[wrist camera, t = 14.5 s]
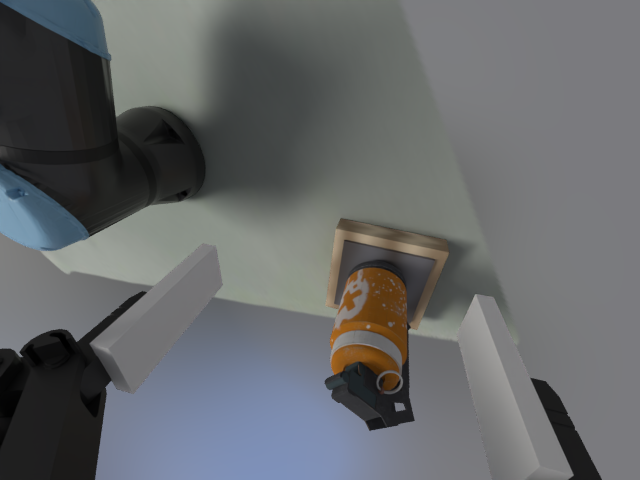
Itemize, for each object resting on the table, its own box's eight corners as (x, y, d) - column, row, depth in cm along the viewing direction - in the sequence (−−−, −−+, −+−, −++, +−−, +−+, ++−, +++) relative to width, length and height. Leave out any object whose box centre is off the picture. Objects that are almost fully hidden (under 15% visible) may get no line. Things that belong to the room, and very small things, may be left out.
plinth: (330, 293, 52) (324, 307, 48) (340, 218, 43) (335, 230, 40) (416, 315, 49) (417, 332, 46) (446, 239, 40) (449, 254, 37)
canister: (377, 247, 39) (356, 371, 23) (429, 294, 41) (445, 441, 25) (336, 278, 44) (295, 399, 28) (384, 319, 46) (373, 456, 29)
